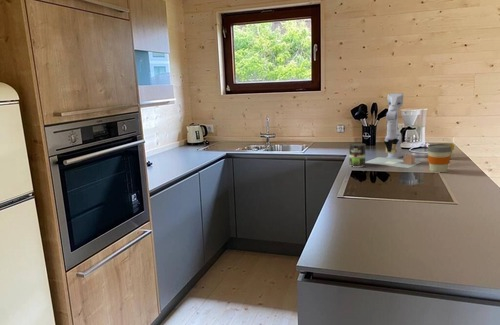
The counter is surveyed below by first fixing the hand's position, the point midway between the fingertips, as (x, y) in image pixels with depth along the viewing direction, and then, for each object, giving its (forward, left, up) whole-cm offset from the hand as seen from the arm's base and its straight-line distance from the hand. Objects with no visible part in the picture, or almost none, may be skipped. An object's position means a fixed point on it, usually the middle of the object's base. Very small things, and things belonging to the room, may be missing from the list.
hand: (391, 151), depth 246 cm
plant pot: (-31, +22, -9) cm, 39 cm away
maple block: (0, 0, -1) cm, 1 cm away
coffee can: (+16, -15, -9) cm, 24 cm away
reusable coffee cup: (+4, +31, -9) cm, 32 cm away
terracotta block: (-4, +10, -8) cm, 13 cm away
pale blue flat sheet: (-2, 0, -8) cm, 9 cm away
